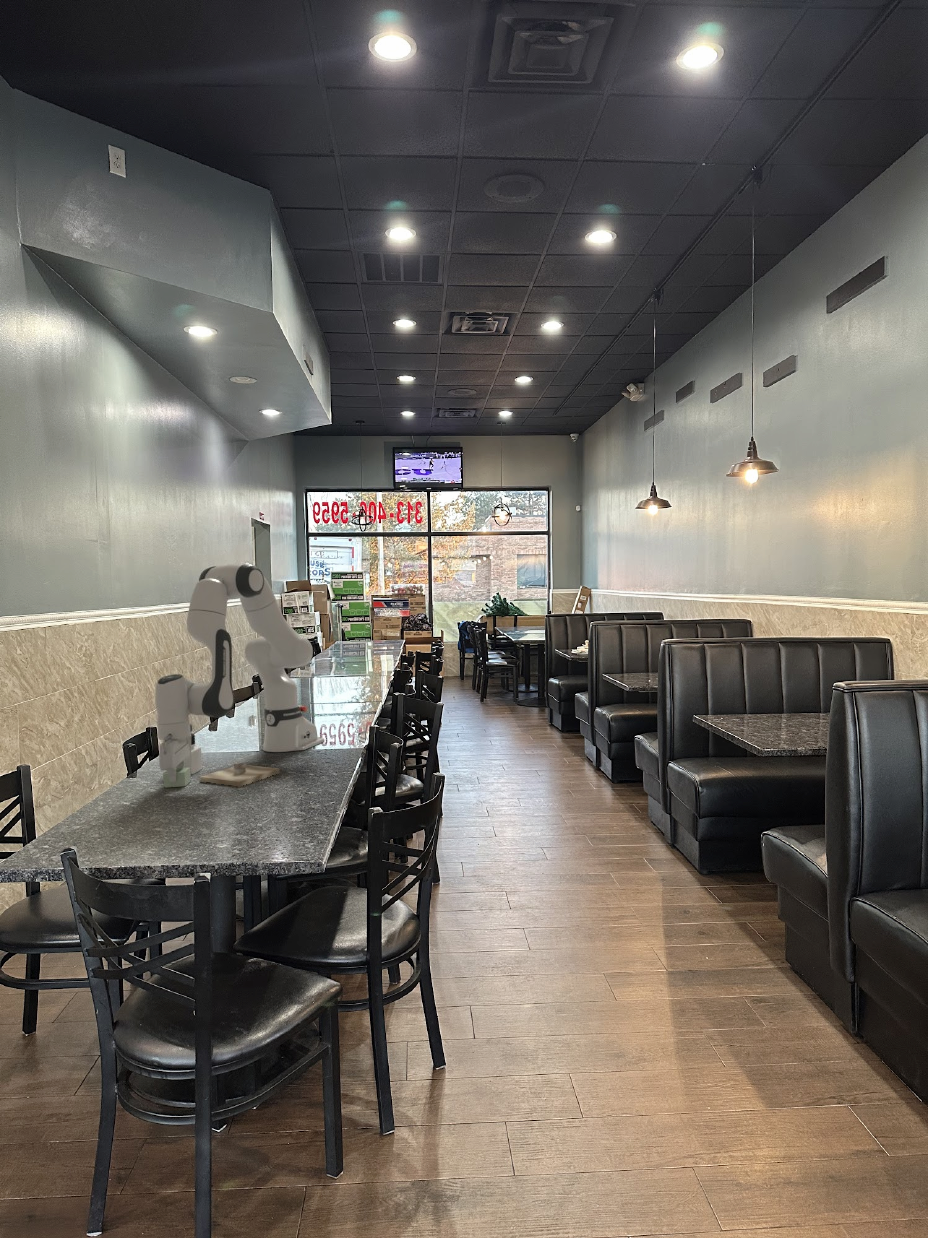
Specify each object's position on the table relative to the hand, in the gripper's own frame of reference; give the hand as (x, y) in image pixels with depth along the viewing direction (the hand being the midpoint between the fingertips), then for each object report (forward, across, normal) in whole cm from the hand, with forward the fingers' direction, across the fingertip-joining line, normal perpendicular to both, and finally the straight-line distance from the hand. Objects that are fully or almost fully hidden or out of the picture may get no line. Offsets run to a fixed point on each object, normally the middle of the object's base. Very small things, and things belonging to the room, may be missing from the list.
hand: (177, 778), depth 230 cm
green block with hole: (+2, 0, 0) cm, 2 cm away
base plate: (+2, +4, -17) cm, 18 cm away
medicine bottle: (+2, +15, +1) cm, 16 cm away
